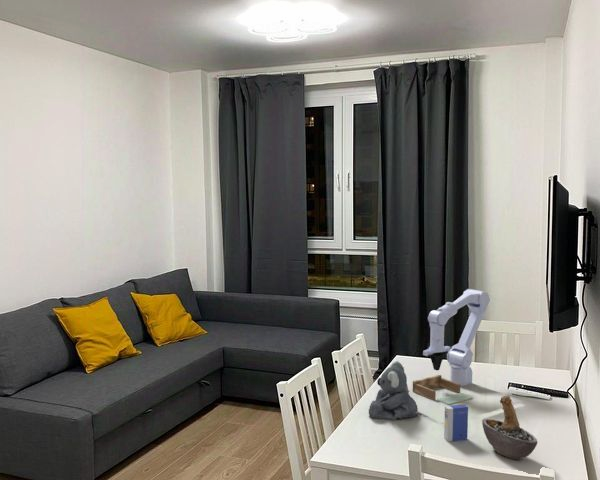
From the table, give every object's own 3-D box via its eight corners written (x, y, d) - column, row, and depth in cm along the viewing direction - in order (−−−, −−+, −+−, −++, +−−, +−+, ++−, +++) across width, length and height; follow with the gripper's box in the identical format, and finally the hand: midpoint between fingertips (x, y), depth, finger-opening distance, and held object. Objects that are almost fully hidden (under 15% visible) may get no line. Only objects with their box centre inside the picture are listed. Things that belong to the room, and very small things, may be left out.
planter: (481, 442, 206) (483, 385, 204) (533, 448, 201) (535, 390, 199) (481, 461, 191) (483, 400, 190) (537, 468, 187) (539, 406, 185)
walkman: (463, 436, 211) (464, 403, 210) (467, 439, 208) (468, 406, 207) (443, 438, 209) (443, 405, 208) (447, 441, 206) (447, 408, 205)
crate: (439, 388, 262) (439, 374, 261) (460, 395, 252) (460, 382, 251) (412, 394, 253) (412, 381, 252) (433, 403, 243) (433, 389, 242)
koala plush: (376, 403, 243) (377, 356, 242) (420, 408, 237) (421, 360, 236) (366, 418, 227) (367, 368, 225) (414, 425, 221) (415, 373, 219)
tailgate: (459, 392, 251) (472, 397, 245) (459, 394, 251) (472, 399, 245) (435, 398, 243) (448, 403, 237) (435, 401, 243) (448, 406, 237)
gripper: (442, 334, 262) (441, 364, 263) (418, 338, 254) (417, 370, 255) (454, 337, 256) (453, 368, 257) (430, 342, 248) (429, 374, 249)
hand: (436, 369), depth 255 cm, fingers closed
